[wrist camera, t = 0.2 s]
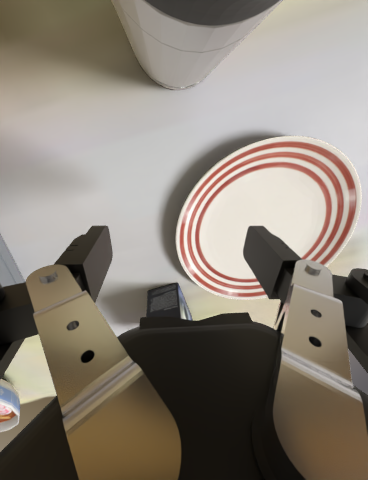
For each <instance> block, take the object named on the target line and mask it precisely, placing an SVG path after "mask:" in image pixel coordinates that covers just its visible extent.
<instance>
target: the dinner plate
mask: <svg viewBox="0 0 368 480" xmlns="http://www.w3.org/2000/svg"><path fill="white" fill-rule="evenodd" d="M361 202H362V193H361V185H360V181H359V177H358V174H357V172H356V170H355V168H354V166H353V164H352V163H351V161H350V160H349V159H348V158H347V157H346V156H345V155H344V154H343V153H342V152H341V151H340V150H339V149H337V148H336V147H334V146H332V145H330V144H328V143H326V142H324V141H321V140H318V139H314V138H310V137H304V136H281V137H274V138H269V139H265V140H261V141H258V142H255V143H252V144H249V145H247V146H244V147H242V148H240V149H238V150H236V151H234V152H233V153H231V154H229V155H228V156H226V157H225V158H223V159H222V160H220V161H219V162H218V163H216V164H215V165H214V166H213V167H212V168H211V169H209V170H208V171H207V172H206V173H205V174H204V175H203V177H202V178H201V179H200V180H199V181H198V182H197V184H196V185H195V186H194V188H193V189H192V191H191V192H190V193H189V195H188V197H187V199H186V201H185V203H184V205H183V207H182V209H181V212H180V215H179V218H178V222H177V227H176V239H175V241H176V250H177V254H178V258H179V261H180V263H181V265H182V267H183V269H184V271H185V272H186V274H187V275H188V276H189V277H190V278H191V280H192V281H193V282H195V283H196V284H197V285H198V286H200V287H201V288H203V289H204V290H206V291H208V292H210V293H212V294H215V295H217V296H221V297H224V298H229V299H238V300H251V299H261V298H266V297H268V296H267V294H266V293H265V291H264V290H263V288H262V286H261V285H260V283H259V282H258V280H257V278H256V277H255V275H254V274H253V272H252V270H251V269H250V267H249V265H248V264H247V262H246V261H245V259H244V256H243V248H244V243H245V239H246V234H247V230H248V227H249V226H264V227H265V228H266V229H267V230H268V231H269V232H270V233H271V234H273V235H275V236H277V237H279V238H280V239H281V240H282V241H283V242H285V244H287V245H288V246H289V248H291V249H292V250H293V251H294V252H295V253H296V254H297V255H298V256H299V257H300V258H302V259H303V260H311V261H315V262H318V263H320V264H322V265H324V266H325V267H327V266H328V265H329V264H330V263H331V262H332V261H333V260H334V259H335V258H336V257H337V256H338V255H339V253H340V252H341V251H342V250H343V248H344V247H345V245H346V244H347V242H348V241H349V239H350V237H351V235H352V233H353V231H354V229H355V227H356V224H357V221H358V217H359V213H360V209H361Z"/></svg>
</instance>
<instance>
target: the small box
mask: <svg viewBox="0 0 368 480" xmlns="http://www.w3.org/2000/svg"><path fill="white" fill-rule="evenodd" d="M163 316H169V317H175V318H181V319H187V320H192V316H191V313H190V311H189V308H188V306H187V303H186V301H185V298H184V296H183V294H182V291H181V289H180V286H179V284H178V283H174V284H170V285H167V286H163V287H159V288H156V289H152V290H149V291H148V296H147V314H146V317H163Z"/></svg>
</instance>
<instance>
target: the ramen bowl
mask: <svg viewBox="0 0 368 480" xmlns="http://www.w3.org/2000/svg"><path fill="white" fill-rule="evenodd" d="M19 413H20V401H19V396H18V393H17V392H16V390H15V389H14V388H13V387H12V385H11V384H10V383H9V382H7V381H5V380H3V379H1V380H0V432H3V431H7V430H10V429H11V428H13V427H14V426H16V425H17V424H18V423H19Z"/></svg>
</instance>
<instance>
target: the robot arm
mask: <svg viewBox="0 0 368 480" xmlns="http://www.w3.org/2000/svg"><path fill="white" fill-rule="evenodd" d="M111 1H112V3H113V5H114V8H115V10H116V12H117V15H118V17H119V19H120V21H121V24H122V26H123V28H124V31H125V33H126V35H127V37H128V40H129V42H130V45H131V47H132V49H133V51H134V54H135V56H136V58H137V60H138V62H139V63H140V65H141V67H142V69H143V70H144V71H145V72H146V73H147V75H148V76H149V77H150V78H151V79H152V80H154V81H155V82H156V83H158V84H159V85H161V86H163V87H165V88H168V89H173V90H183V89H187V88H190V87H193V86H195V85H196V84H198V83H199V82H201V81H202V80H203V79H204V78H205V77H206V76H207V75H208V74H209V73H210V72H212V71H213V70H214V69H215V68H216V67H217V66H218V65H219V64H220V63H221V62H222V61H223V60H224V59H225V58H226V57H227V56H228V55H229V54H230V53H231V52H232V51H233V50H234V49H235V48H236V47H237V46H238V45H239V44H240V43H241V42H242V41H243V40H244V39H245V38H246V37H247V36H248V35H249V34H250V33H251V32H252V31H253V30H254V29H255V28H256V27H257V26H258V25H259V24H260V23H261V22H262V21H263V20H264V19H265V18H266V17H267V16H268V15H269V14H270V13H271V12H272V11H273V10H274V9H275V8H276V7H277V6H278V5H279V4H280V3H281V2H282V1H283V0H111ZM243 256H244V259H245V261H246V262H247V264H248V265H249V267H250V269H251V270H252V272H253V274H254V275H255V277H256V278H257V280H258V282H259V283H260V285H261V286H262V288H263V290H264V291H265V293H266V294H267V296H268V298H269V299H280V300H281V302H280V304H279V307H278V311H277V315H276V319H275V323H274V327H273V328H271V327H269V326H266V325H264V324H261V323H257V322H253V321H252V320H251V318H250V316H249V313H227V314H220V315H217V316H213V317H210V318H206V319H203V320H199V321H192V320H187V319H181V318H175V317H169V316H163V317H142V318H141V319H140V327H137V328H134V329H131V330H129V331H127V332H125V333H123V334H121V335H120V336H118V337H116V335H115V334H114V332H113V331H112V329H111V328H110V326H109V325H108V323H107V322H106V320H105V318H104V317H103V315H102V314H101V312H100V311H99V309H98V308H97V306H96V305H95V302H96V299H97V297H98V294H99V292H100V289H101V286H102V284H103V281H104V279H105V276H106V274H107V271H108V269H109V266H110V264H111V261H112V246H111V240H110V234H109V229H108V226H92V227H91V228H90V229H89V231H88V232H87V233H86V235H81V236H79V237H77V238H76V239H74V240H73V241H72V243H71V244H70V246H68V248H67V249H66V251H64V253H63V254H62V255H61V256H60V257H59V259H58V260H57V261H56V262H55V264H54V265H49V266H45V267H42V268H40V269H38V270H36V271H34V272H33V273H31V274H30V275H29V276H28V277H27V279H26V282H24V283H19V284H14V285H10V286H5V287H2V285H1V283H0V380H1V378H2V376H3V375H4V373H5V371H6V370H7V368H8V366H9V364H10V363H11V361H12V359H13V358H14V356H15V354H16V353H17V351H18V349H19V348H20V346H21V344H22V343H23V341H24V339H25V338H27V337H31V336H34V335H37V334H39V336H40V340H41V343H42V347H43V350H44V353H45V357H46V360H47V363H48V367H49V370H50V374H51V377H52V380H53V384H54V387H55V390H56V394H57V396H56V397H55V398H54V399H53V400H52V401H51V402H50V403H49V404H48V405H47V406H46V407H45V408H44V409H43V410H42V411H41V412H40V413H39V414H38V415H37V416H36V417H35V418H34V419H33V420H32V421H31V422H30V423H29V424H28V425H27V426H26V427H25V428H24V429H23V430H22V431H21V432H20V433H19V434H18V435H17V436H16V437H15V438H14V439H13V440H12V441H11V442H10V443H9V444H8V445H7V446H6V447H5V448H4V449H3V450H2V451H1V452H0V480H368V395H366V394H365V393H364V392H362V391H361V390H359V389H358V388H357V387H355V386H354V385H353V384H352V379H351V371H350V362H349V353H348V349H349V350H350V351H351V352H352V354H353V355H354V356H355V358H356V359H357V360H358V361H359V362H360V364H361V365H362V367H363V368H364V369H365V370H366V372H367V373H368V270H366V269H359V268H357V269H353V270H351V272H350V274H349V275H348V277H343V276H337V275H332V273H331V271H330V270H329V269H328V268H327V267H325V266H324V265H322V264H320V263H318V262H315V261H311V260H303V259H302V258H300V257H299V256H298V255H297V254H296V253H295V252H294V251H293V250H292V249H291V248H289V246H288V245H287V244H285V242H283V241H282V240H281V239H280V238H279V237H277V236H275V235H273V234H271V233H270V232H269V231H268V230H267V229H266V228H265V227H264V226H249V227H248V230H247V234H246V239H245V243H244V248H243Z"/></svg>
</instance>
